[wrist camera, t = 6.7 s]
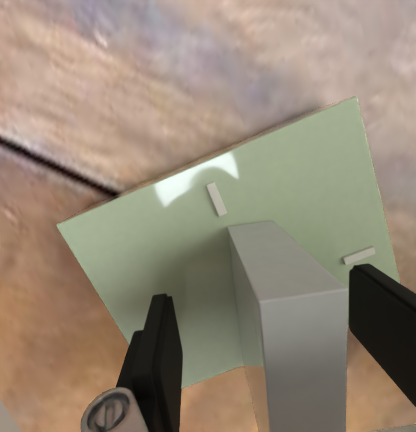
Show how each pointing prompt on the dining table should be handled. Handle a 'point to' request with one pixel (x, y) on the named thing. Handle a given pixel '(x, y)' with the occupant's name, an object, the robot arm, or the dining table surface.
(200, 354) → the dial base
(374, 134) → the dining table surface
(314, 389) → the knob
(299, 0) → the dining table surface
